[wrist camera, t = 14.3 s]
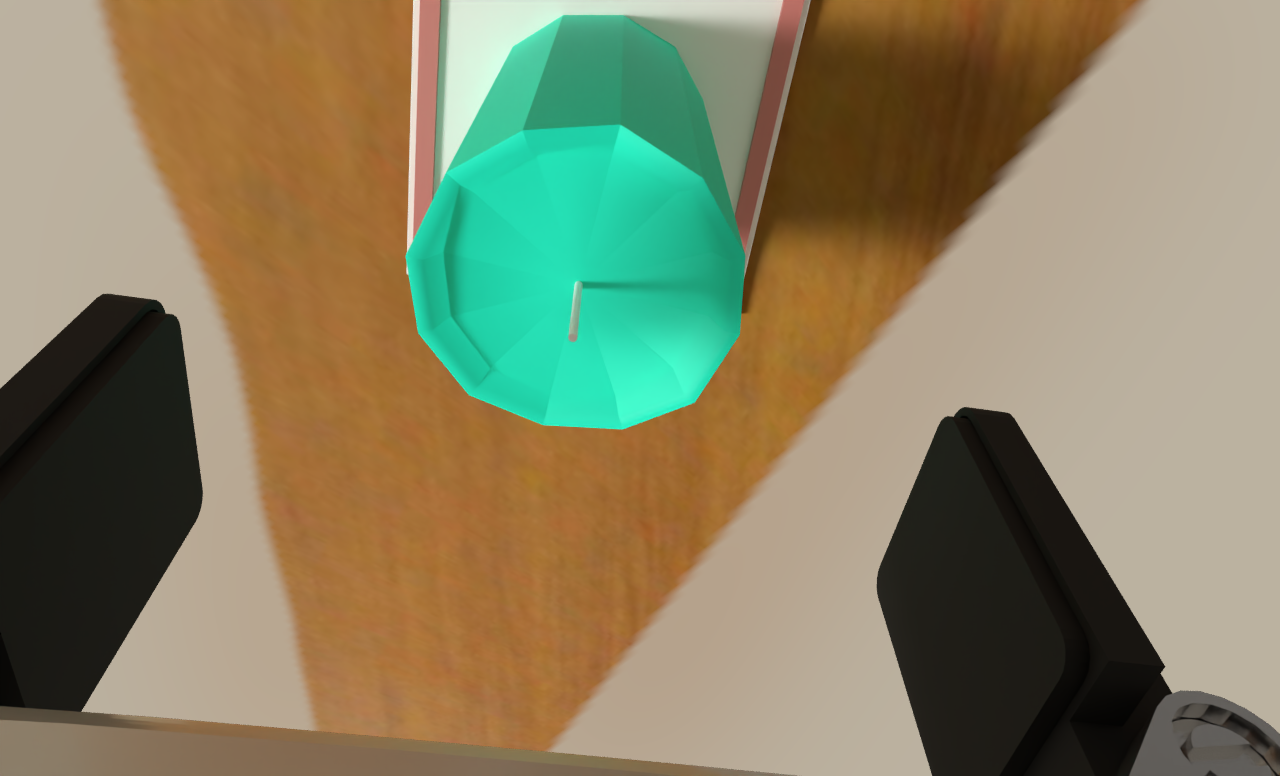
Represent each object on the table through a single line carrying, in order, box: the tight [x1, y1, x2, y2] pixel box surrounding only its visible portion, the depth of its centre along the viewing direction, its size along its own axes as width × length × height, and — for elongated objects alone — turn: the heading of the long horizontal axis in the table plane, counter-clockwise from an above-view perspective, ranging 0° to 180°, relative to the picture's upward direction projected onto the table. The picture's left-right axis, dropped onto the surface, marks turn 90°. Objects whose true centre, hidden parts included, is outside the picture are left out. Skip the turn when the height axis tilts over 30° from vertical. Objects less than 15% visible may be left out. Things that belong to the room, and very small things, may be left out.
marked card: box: [407, 0, 811, 277], centre depth 25 cm, size 10×10×1 cm
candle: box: [406, 15, 746, 429], centre depth 20 cm, size 6×6×12 cm
